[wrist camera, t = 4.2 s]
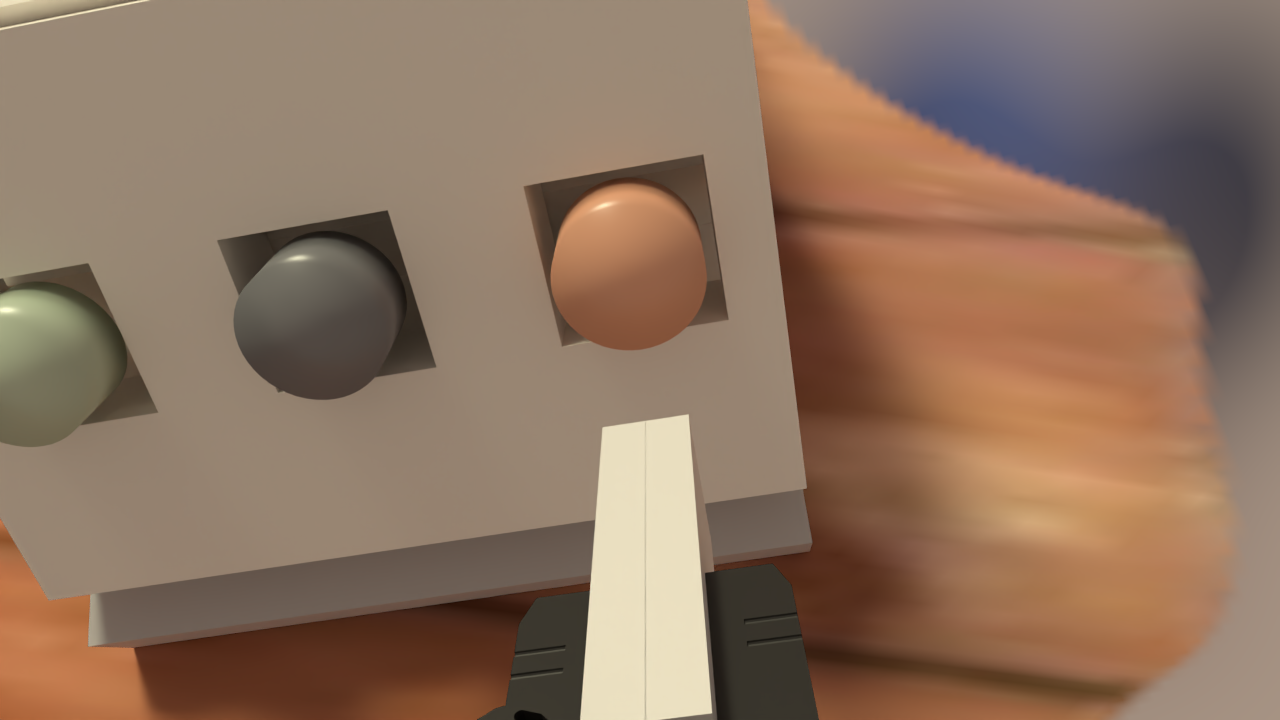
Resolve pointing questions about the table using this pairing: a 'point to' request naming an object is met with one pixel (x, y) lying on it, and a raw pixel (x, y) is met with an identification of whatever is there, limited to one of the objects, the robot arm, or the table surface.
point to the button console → (432, 277)
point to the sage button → (54, 362)
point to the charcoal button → (321, 315)
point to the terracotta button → (629, 264)
